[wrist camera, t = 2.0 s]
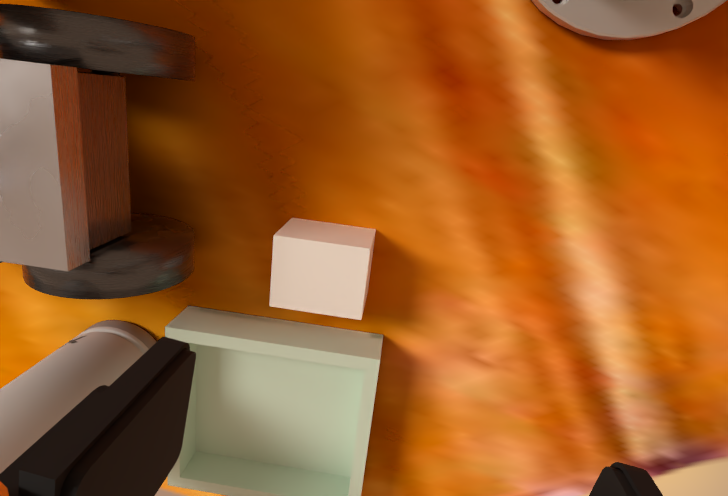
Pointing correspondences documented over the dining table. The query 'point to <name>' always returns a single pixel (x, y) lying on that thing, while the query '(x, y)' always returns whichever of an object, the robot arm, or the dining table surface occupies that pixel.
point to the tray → (275, 405)
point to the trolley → (81, 154)
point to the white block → (321, 268)
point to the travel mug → (65, 382)
